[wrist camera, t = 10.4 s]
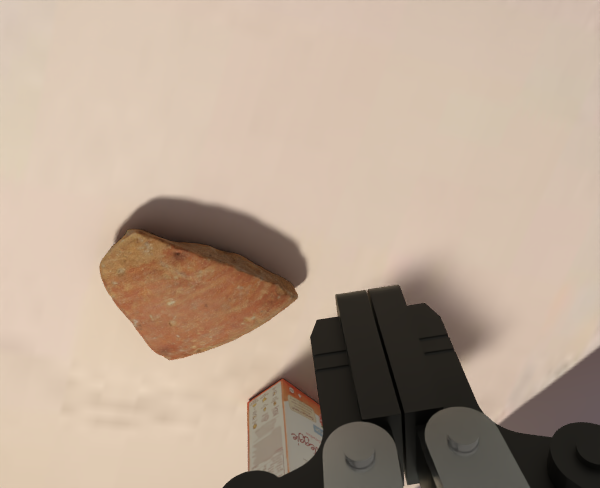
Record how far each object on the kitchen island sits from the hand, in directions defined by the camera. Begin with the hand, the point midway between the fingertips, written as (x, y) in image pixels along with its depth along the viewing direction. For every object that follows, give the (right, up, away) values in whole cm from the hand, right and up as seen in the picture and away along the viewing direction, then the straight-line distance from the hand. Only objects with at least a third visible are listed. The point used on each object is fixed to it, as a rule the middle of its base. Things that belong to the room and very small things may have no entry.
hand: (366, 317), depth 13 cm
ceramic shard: (-12, -1, +40) cm, 42 cm away
